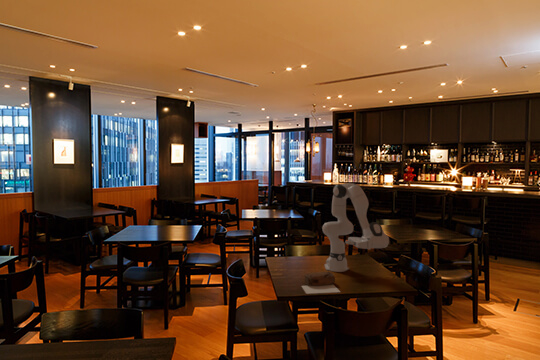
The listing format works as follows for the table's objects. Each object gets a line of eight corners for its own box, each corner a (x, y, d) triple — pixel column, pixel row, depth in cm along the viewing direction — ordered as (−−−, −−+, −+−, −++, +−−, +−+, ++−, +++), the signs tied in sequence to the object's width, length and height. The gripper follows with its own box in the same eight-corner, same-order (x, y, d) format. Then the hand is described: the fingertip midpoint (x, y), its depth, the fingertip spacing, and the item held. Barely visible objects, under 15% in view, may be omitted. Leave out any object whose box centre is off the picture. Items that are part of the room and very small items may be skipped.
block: (328, 280, 252) (303, 283, 247) (328, 270, 252) (303, 272, 247) (335, 285, 242) (309, 288, 236) (335, 274, 242) (309, 277, 236)
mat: (301, 286, 240) (301, 285, 240) (333, 284, 243) (333, 284, 243) (306, 293, 225) (306, 293, 225) (340, 292, 229) (340, 291, 229)
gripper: (359, 234, 248) (341, 235, 246) (371, 240, 227) (351, 240, 226) (359, 243, 248) (341, 243, 246) (371, 249, 228) (351, 250, 226)
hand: (346, 242), depth 236 cm, fingers closed
